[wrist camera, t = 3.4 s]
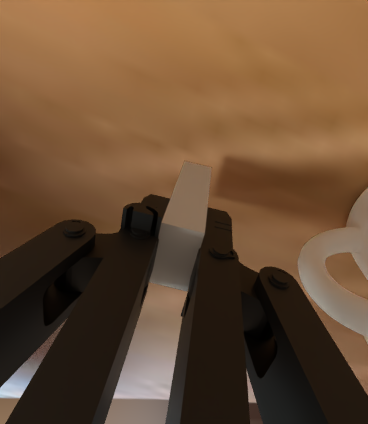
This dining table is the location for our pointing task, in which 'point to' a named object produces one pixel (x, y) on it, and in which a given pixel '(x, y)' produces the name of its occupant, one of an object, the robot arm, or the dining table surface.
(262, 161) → the dining table surface
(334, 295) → the mug
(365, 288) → the dining table surface
